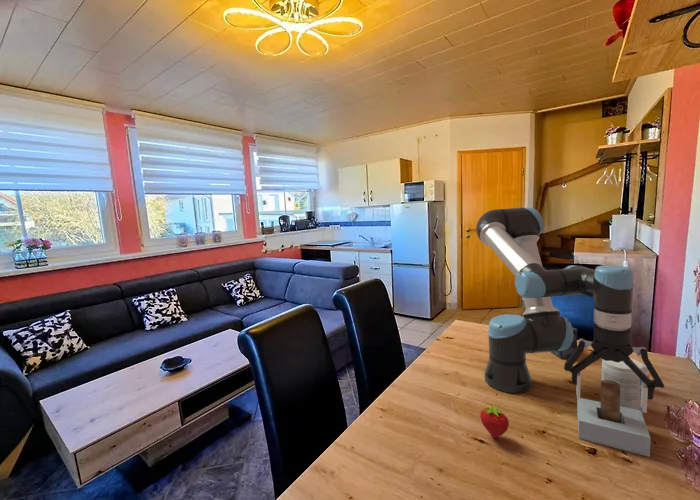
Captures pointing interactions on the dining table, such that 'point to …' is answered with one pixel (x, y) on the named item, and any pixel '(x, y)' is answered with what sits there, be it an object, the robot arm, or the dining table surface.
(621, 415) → the socket block
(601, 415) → the dowel
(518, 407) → the dining table surface
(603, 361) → the supplement tub
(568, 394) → the dining table surface
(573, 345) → the small box
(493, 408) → the strawberry
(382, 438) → the dining table surface
